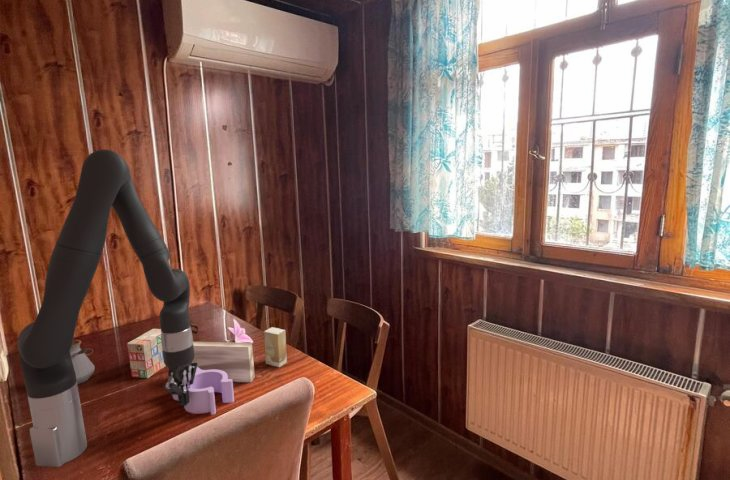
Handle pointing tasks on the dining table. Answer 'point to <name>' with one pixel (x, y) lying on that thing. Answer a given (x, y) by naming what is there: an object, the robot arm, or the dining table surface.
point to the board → (226, 359)
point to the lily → (240, 334)
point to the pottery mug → (194, 324)
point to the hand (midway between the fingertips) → (184, 403)
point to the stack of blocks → (146, 354)
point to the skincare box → (275, 346)
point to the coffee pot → (81, 362)
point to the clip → (208, 391)
